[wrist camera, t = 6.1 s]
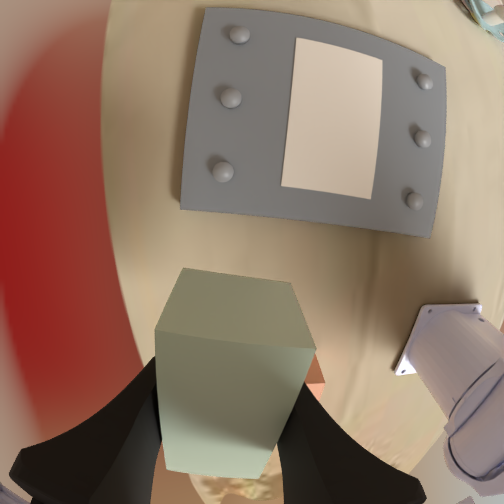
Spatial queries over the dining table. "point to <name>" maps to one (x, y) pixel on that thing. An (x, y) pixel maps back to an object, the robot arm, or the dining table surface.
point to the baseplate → (313, 124)
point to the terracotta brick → (315, 378)
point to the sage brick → (228, 371)
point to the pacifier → (487, 16)
